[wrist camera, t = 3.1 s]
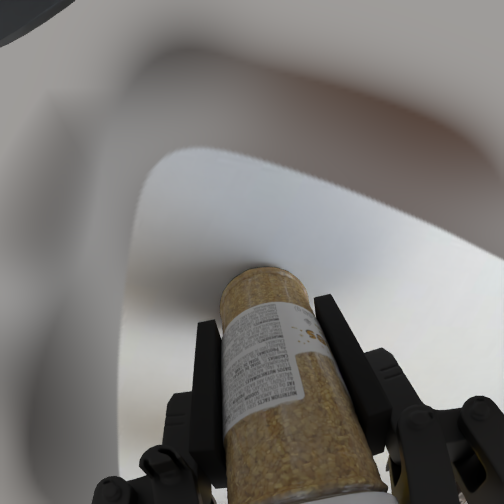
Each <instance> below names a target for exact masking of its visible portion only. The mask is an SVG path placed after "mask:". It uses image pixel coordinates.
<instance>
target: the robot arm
mask: <svg viewBox="0 0 504 504" xmlns="http://www.w3.org/2000/svg"><path fill="white" fill-rule="evenodd" d="M314 304H315V313H316V319H317V320H318V322H319V323H320V325H321V328H322V330H323V332H324V335H325V337H326V339H327V342H328V344H329V346H330V349H331V351H332V354H333V356H334V358H335V360H336V362H337V365H338V367H339V370H340V372H341V375H342V377H343V379H344V382H345V384H346V387H347V389H348V391H349V394H350V396H351V399H352V402H353V405H354V408H355V413H356V415H357V416H358V419H359V423H360V425H361V428H362V430H363V432H364V434H365V437H366V440H367V443H368V446H369V448H370V450H371V453H372V456H374V455H377V454H379V453H382V452H384V448H385V445H386V448H387V450H388V452H389V458H388V461H387V465H386V471H389V472H390V480H391V489H392V495H394V496H395V497H396V498H397V499H398V502H399V504H460V501H459V496H458V491H457V486H456V482H457V484H458V486H459V488H460V490H461V491H462V493H463V495H464V497H465V499H466V501H467V503H468V504H504V414H503V413H502V412H501V410H500V409H499V408H498V406H497V405H496V404H495V403H494V402H493V401H492V400H491V399H490V398H488V397H485V396H474V397H471V398H469V399H468V400H467V401H466V402H465V403H464V405H463V406H462V408H456V409H449V410H435V409H433V408H431V407H430V406H427V405H425V404H423V402H422V401H421V400H420V398H419V397H418V395H417V393H416V392H415V390H414V388H413V387H412V385H411V384H410V382H409V380H408V379H407V377H406V375H405V374H404V373H403V371H402V369H401V367H400V366H399V365H398V363H397V361H396V360H395V358H394V356H393V355H392V354H391V353H389V352H388V351H386V350H385V349H383V348H379V349H376V350H372V351H369V352H366V353H364V352H363V350H362V349H361V347H360V345H359V343H358V341H357V340H356V338H355V336H354V334H353V332H352V331H351V329H350V327H349V325H348V323H347V322H346V320H345V318H344V316H343V315H342V313H341V311H340V309H339V308H338V306H337V304H336V302H335V301H334V299H333V297H332V295H331V294H327V295H323V296H319V297H315V298H314ZM221 341H222V340H221V337H220V334H219V331H218V328H217V325H216V321H215V319H214V320H209V321H204V322H199V323H198V327H197V338H196V349H195V361H194V373H193V386H192V391H190V392H183V393H175V394H173V396H172V397H171V399H170V401H169V402H168V404H167V411H166V418H165V426H164V434H163V442H162V445H156V446H154V447H151V448H149V449H148V450H147V451H146V452H144V453H143V455H142V457H141V459H140V463H139V467H140V468H141V469H142V470H143V471H144V472H145V473H146V474H147V475H146V476H143V477H140V478H137V479H133V480H130V481H125V480H124V479H123V478H121V477H117V476H111V477H107V478H105V479H103V480H101V481H100V482H99V483H98V484H97V487H96V489H95V491H94V496H93V500H92V504H217V503H216V500H215V499H214V497H213V495H212V491H211V484H212V485H213V486H214V487H215V489H218V488H227V476H226V456H225V450H224V447H223V431H222V396H221ZM455 480H456V482H455Z"/></svg>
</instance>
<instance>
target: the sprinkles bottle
mask: <svg viewBox="0 0 504 504" xmlns="http://www.w3.org/2000/svg"><path fill="white" fill-rule="evenodd" d="M220 315H221V319H222V327H223V328H222V329H223V337H222V341H221V396H222V431H223V447H224V450H225V456H226V476H227V499H228V504H399V502H398V499H397V498H396V497H395V496H394V495H392V494H389V493H387V490H388V486H387V485H386V484H385V483H383V482H382V480H381V478H380V474H379V471H378V468H377V465H376V463H375V461H374V459H373V456H372V453H371V450H370V448H369V446H368V443H367V440H366V437H365V434H364V432H363V430H362V428H361V425H360V423H359V419H358V416H357V415H356V413H355V408H354V405H353V402H352V399H351V396H350V394H349V391H348V389H347V387H346V384H345V382H344V379H343V377H342V375H341V372H340V370H339V367H338V365H337V362H336V360H335V358H334V356H333V354H332V351H331V349H330V346H329V344H328V342H327V339H326V337H325V335H324V332H323V330H322V328H321V325H320V323H319V322H318V320H317V319H316V317H315V315H314V313H313V310H312V309H311V307H310V304H309V299H308V294H307V291H306V289H305V287H304V286H303V284H302V283H301V281H300V280H299V279H298V278H296V277H295V276H294V275H292V274H291V273H290V272H288V271H286V270H282V269H279V268H275V267H263V268H255V269H249V270H247V271H245V272H243V273H242V274H240V275H239V276H237V277H236V278H234V279H233V280H232V281H231V282H230V283H229V284H228V285H227V287H226V288H225V290H224V291H223V294H222V297H221V301H220Z"/></svg>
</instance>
